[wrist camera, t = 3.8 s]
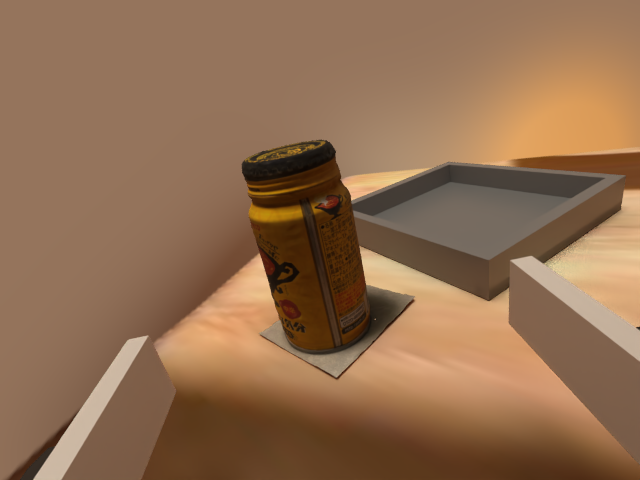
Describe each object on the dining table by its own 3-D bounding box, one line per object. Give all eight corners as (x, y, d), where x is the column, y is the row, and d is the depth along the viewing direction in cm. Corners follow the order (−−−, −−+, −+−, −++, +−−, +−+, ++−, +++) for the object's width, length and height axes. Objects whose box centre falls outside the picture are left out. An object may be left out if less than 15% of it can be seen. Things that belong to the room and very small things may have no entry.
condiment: (259, 336, 24) (202, 167, 19) (338, 277, 29) (308, 132, 25) (337, 381, 19) (285, 167, 14) (415, 300, 24) (397, 123, 19)
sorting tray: (449, 184, 45) (448, 161, 44) (620, 209, 30) (625, 175, 29) (335, 235, 37) (330, 209, 36) (489, 300, 23) (488, 260, 21)
